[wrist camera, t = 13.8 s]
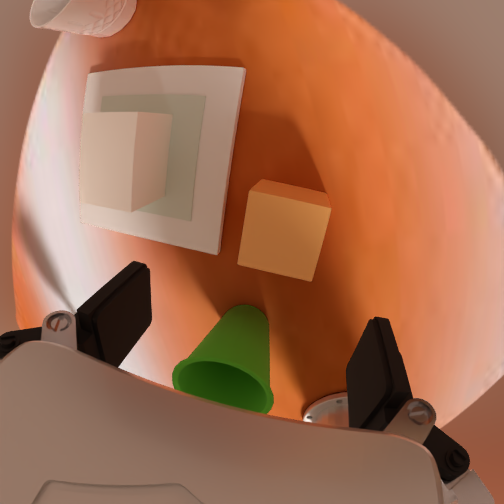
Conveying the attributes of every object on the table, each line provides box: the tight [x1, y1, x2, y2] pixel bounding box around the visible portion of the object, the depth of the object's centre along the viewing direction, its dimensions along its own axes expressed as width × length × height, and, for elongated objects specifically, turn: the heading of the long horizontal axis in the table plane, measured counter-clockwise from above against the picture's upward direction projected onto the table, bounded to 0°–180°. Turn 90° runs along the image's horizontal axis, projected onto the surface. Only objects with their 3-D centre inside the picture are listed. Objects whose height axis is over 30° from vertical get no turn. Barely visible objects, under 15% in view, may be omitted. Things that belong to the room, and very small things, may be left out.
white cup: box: [30, 0, 137, 38], centre depth 16 cm, size 8×8×10 cm
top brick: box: [237, 179, 332, 282], centre depth 24 cm, size 6×6×6 cm
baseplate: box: [80, 65, 246, 255], centre depth 26 cm, size 18×18×1 cm
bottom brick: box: [79, 112, 173, 213], centre depth 23 cm, size 6×8×6 cm
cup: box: [172, 305, 274, 414], centre depth 27 cm, size 9×9×11 cm
